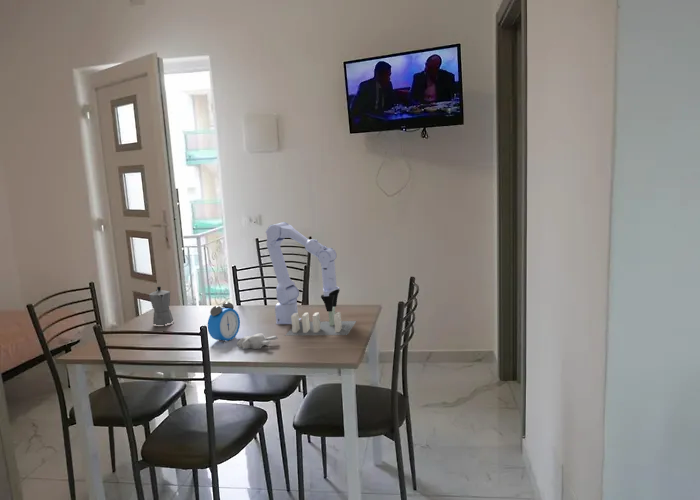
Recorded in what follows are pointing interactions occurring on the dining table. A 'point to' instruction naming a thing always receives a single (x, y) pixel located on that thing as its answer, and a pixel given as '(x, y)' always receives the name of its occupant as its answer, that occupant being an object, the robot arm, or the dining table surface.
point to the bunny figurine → (255, 341)
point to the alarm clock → (223, 322)
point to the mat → (325, 329)
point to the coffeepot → (161, 306)
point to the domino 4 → (331, 316)
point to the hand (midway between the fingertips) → (331, 308)
